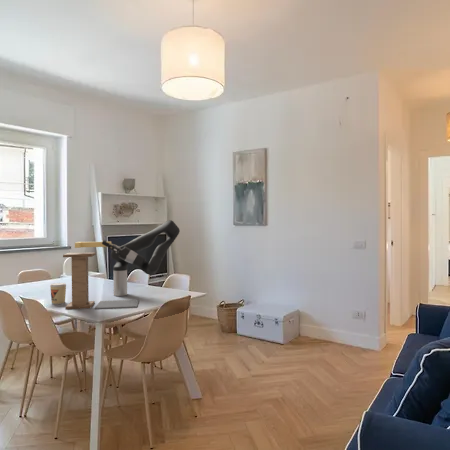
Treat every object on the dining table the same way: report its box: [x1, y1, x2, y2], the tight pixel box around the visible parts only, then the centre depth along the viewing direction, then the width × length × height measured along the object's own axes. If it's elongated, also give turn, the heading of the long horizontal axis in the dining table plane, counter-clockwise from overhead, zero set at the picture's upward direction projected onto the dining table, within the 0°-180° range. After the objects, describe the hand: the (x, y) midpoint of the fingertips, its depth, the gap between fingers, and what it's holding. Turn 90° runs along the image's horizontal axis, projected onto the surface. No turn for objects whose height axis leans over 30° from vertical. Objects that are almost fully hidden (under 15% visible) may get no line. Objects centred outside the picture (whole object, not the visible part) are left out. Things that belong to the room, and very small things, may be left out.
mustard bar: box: [74, 241, 112, 249], centre depth 238 cm, size 10×20×3 cm, turn 99°
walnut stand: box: [62, 251, 97, 310], centre depth 237 cm, size 14×16×32 cm
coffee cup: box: [49, 282, 67, 305], centre depth 247 cm, size 9×9×12 cm
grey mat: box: [94, 299, 140, 310], centre depth 240 cm, size 20×24×1 cm
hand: (103, 242), depth 239 cm, fingers closed on mustard bar, 4 cm apart
